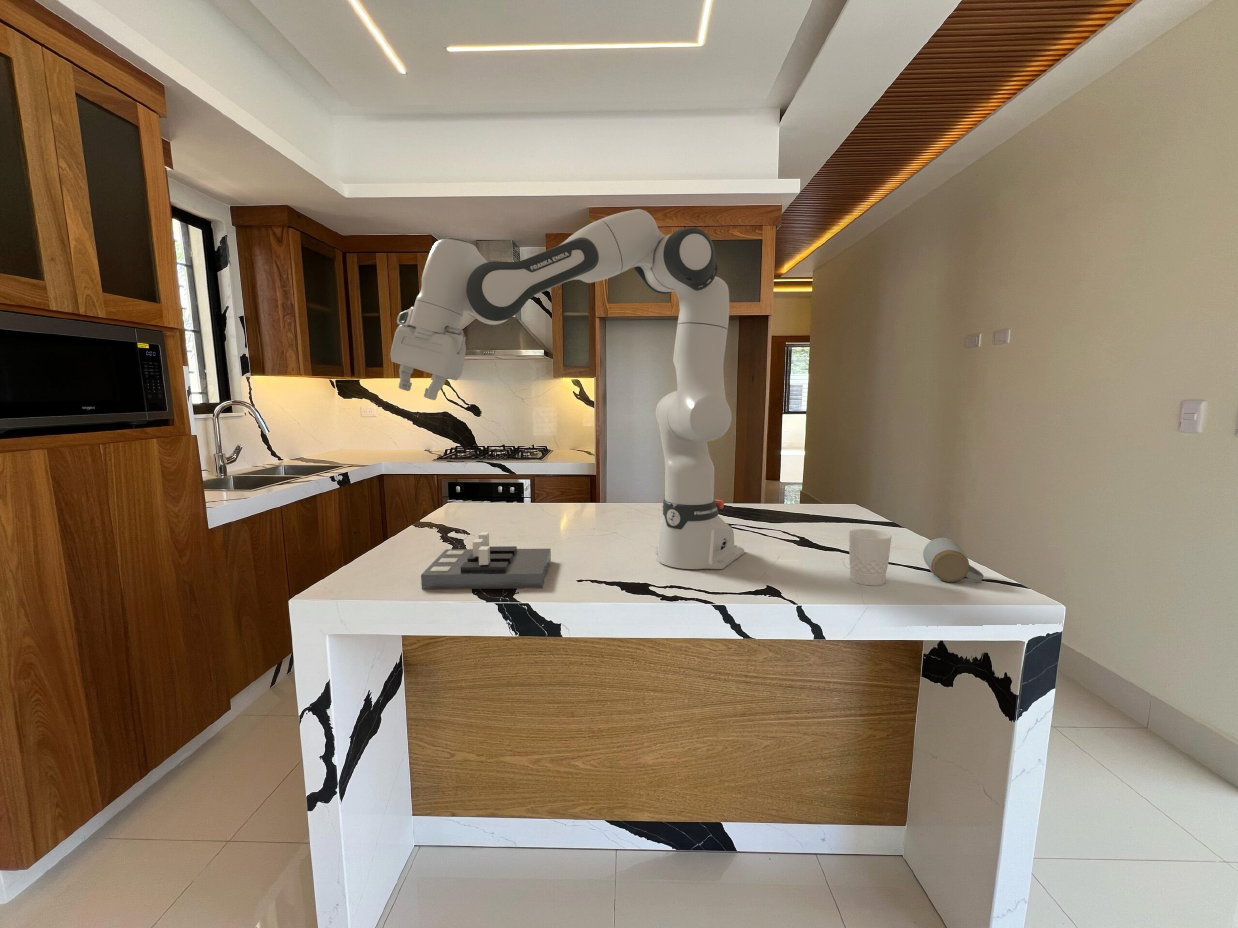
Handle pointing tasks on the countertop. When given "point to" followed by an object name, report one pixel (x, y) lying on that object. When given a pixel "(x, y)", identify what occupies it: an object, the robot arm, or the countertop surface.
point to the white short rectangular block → (484, 538)
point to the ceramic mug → (949, 561)
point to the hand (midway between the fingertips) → (416, 394)
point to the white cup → (869, 556)
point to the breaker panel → (488, 569)
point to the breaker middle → (477, 546)
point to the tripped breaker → (484, 555)
